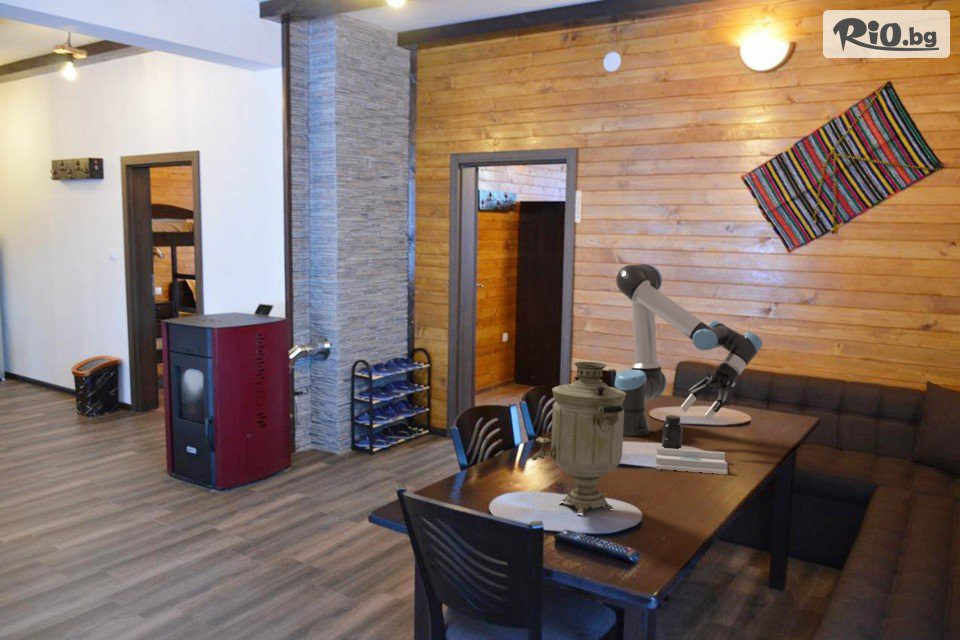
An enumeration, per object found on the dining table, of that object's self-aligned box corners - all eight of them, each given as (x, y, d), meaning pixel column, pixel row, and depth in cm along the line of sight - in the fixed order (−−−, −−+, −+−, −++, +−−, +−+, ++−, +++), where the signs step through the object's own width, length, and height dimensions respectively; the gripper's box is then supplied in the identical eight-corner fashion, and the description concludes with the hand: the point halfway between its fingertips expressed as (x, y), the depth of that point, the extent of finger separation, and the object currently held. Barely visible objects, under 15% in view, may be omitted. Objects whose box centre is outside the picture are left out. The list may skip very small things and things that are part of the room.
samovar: (521, 489, 218) (523, 356, 214) (608, 487, 220) (611, 355, 216) (536, 528, 189) (538, 373, 184) (636, 525, 190) (640, 373, 186)
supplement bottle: (659, 450, 260) (660, 417, 259) (664, 446, 266) (665, 413, 265) (679, 453, 257) (680, 419, 256) (683, 448, 263) (684, 415, 262)
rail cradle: (656, 469, 239) (656, 459, 238) (656, 455, 254) (657, 446, 254) (727, 474, 233) (727, 464, 233) (723, 460, 249) (724, 451, 248)
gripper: (760, 381, 256) (724, 428, 252) (713, 370, 279) (679, 412, 275) (748, 367, 253) (711, 414, 250) (702, 357, 276) (667, 399, 273)
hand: (694, 413), depth 262 cm, fingers open, 13 cm apart
